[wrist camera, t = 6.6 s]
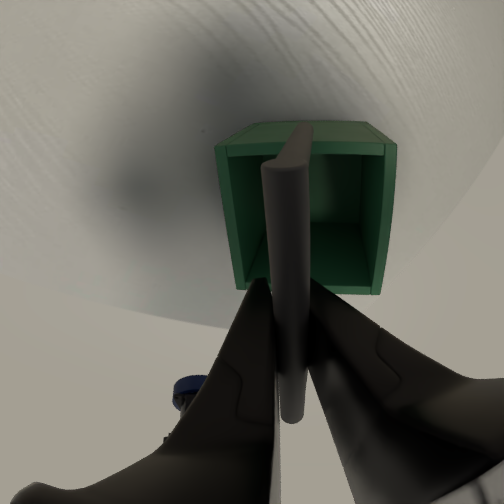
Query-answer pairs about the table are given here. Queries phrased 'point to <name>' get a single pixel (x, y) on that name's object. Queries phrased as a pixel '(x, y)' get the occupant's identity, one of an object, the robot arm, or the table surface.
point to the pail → (306, 222)
